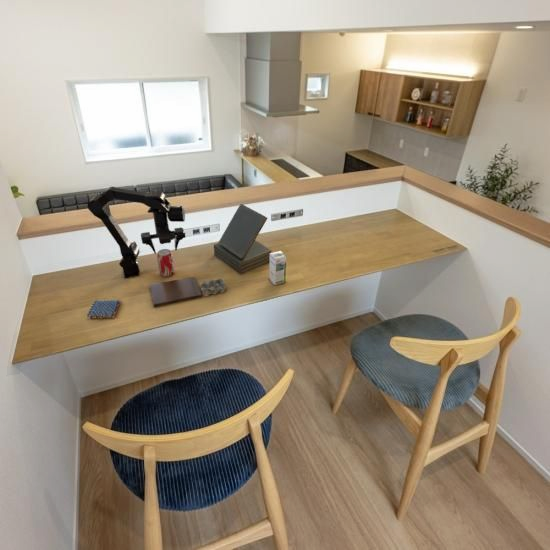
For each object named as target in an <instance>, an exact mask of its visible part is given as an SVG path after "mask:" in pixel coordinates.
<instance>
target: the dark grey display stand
mask: <svg viewBox="0 0 550 550" xmlns="http://www.w3.org/2000/svg"><path fill="white" fill-rule="evenodd" d="M267 220H268V217H267V216H265V215H263V214H262V213H260V212H258V211H256V210H254V209H252V208H251V207H248V206H246V205H245V204H243V203H240V204H239V206H238V207H237V209H236V211H235V212H234V214H233V216H232V218H231V220H230V221H229V223H228V225H227V226H226V228H225V230H224V232H223V234H222V235H221V237H220V239H219V241H217V243H214V244H213V255H214V256H215V257H217V258H218V259H219V260H221V261H222V262H224V263H225V264H227V266H229V267H231V268H232V269H234V270H235V271H236V272H237V273H238V274H240V275H242V274H244V273H247V272H249V271H252V270H254V269H256V268H258V267H261V266H263V265H266V264H267V263H270V253H272V249H270V248H269V247H267V246H265V245H264V244H262V243H260V242H259V241H258V240H256V239H257V237H258V236H259V234H260V232H261V231H262V229H263V227H264V225H265V224H266V222H267Z"/></svg>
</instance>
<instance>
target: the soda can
mask: <svg viewBox="0 0 550 550" xmlns="http://www.w3.org/2000/svg"><path fill="white" fill-rule="evenodd" d="M156 261H157V265H158V270H159V274H160V276H162V277H165V278H167V277H172V276H173V275H174V274H175V273H176V267H175V260H174V255H173V253H172V251H171V249H168V248H162V249H160V250H158V251H157V255H156Z"/></svg>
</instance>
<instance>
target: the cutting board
mask: <svg viewBox="0 0 550 550" xmlns="http://www.w3.org/2000/svg"><path fill="white" fill-rule="evenodd" d="M149 289H150V293H151V299H152V303H153V308H157V307H162V306H167V305H171V304H176V303H182V302H186V301H190V300H196V299H201V298H202V293H201V289H200V288H199V285H198V283H197V280H196V277H195V276H187V277H184V278H179V279H178V278H177V279H173V280H167V281H163V282H156V283H152V284H149Z"/></svg>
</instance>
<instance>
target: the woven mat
mask: <svg viewBox="0 0 550 550" xmlns="http://www.w3.org/2000/svg"><path fill="white" fill-rule="evenodd" d="M120 304H121V301H120V300H119V299H108V300H106V299H104V300H103V299H102V300H94V301H93V303H92V306H90V309H89V311H88V312H87V314H86V316H87V318H88V319H91V318H92V319H100V320H102V319H103V318H106V319H109V318H112V319H114V318H115V315H116V314H117V311H118V308H119V307H120Z"/></svg>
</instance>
